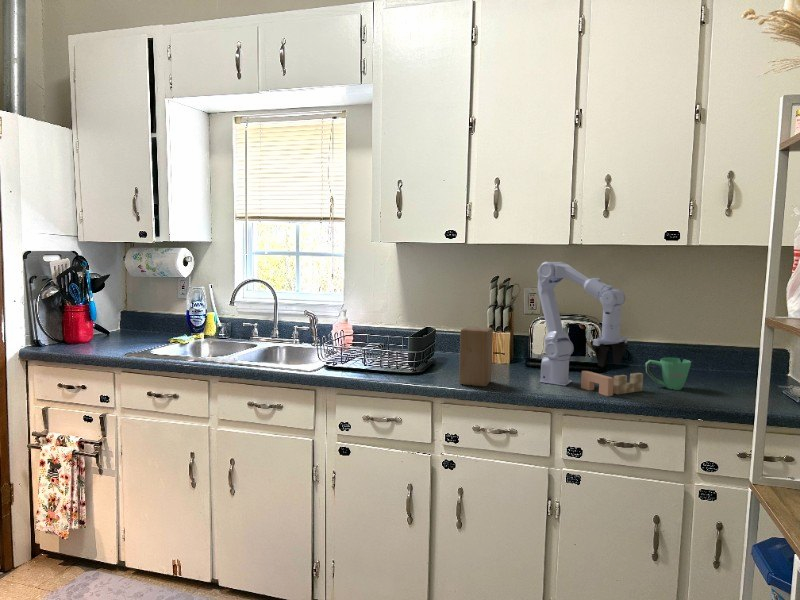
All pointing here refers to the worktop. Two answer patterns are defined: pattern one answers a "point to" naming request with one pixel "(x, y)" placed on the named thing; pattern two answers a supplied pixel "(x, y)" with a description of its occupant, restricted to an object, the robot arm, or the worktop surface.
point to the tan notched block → (632, 386)
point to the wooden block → (475, 356)
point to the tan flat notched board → (602, 380)
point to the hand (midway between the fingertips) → (609, 365)
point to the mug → (671, 372)
